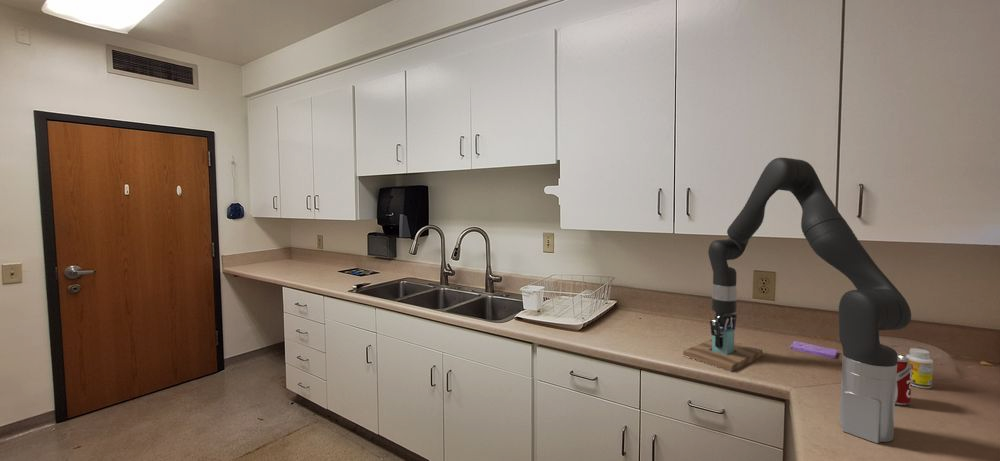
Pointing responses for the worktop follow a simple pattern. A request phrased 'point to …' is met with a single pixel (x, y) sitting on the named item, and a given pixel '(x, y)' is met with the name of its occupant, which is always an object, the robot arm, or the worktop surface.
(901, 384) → the soda can
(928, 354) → the supplement bottle
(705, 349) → the socket board
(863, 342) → the robot arm
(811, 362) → the worktop surface
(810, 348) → the sponges
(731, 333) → the teal block
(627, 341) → the worktop surface
